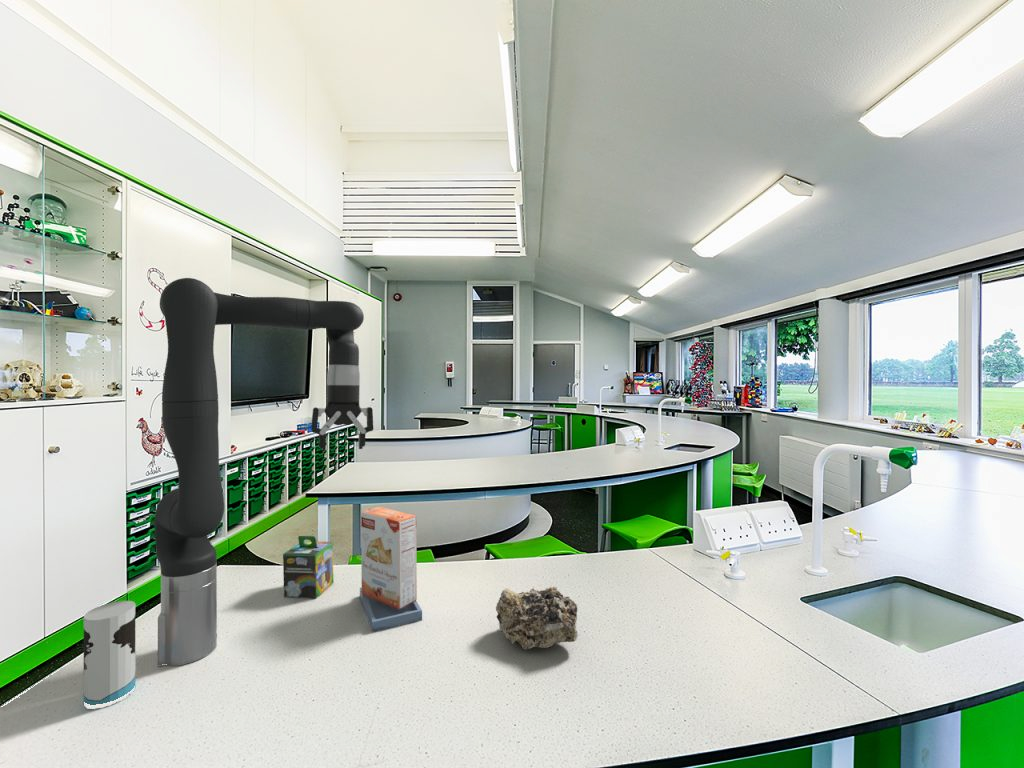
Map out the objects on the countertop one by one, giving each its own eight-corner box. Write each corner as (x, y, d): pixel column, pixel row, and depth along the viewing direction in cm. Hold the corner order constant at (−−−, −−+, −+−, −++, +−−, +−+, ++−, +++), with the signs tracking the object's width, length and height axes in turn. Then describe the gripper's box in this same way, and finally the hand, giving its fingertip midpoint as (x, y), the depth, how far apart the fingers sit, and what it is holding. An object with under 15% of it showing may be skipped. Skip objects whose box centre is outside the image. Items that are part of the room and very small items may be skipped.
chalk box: (334, 583, 122) (334, 529, 122) (316, 599, 113) (316, 541, 113) (302, 582, 123) (302, 528, 123) (281, 597, 114) (281, 539, 114)
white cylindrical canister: (144, 681, 82) (144, 599, 82) (115, 708, 75) (115, 619, 75) (104, 684, 81) (105, 601, 81) (72, 711, 74) (72, 621, 74)
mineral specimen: (576, 663, 87) (576, 612, 87) (488, 652, 91) (488, 603, 91) (580, 621, 102) (580, 578, 102) (504, 613, 106) (504, 571, 106)
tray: (372, 632, 98) (372, 622, 98) (359, 596, 115) (359, 587, 115) (422, 620, 103) (422, 610, 103) (403, 587, 120) (403, 579, 120)
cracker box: (359, 595, 111) (359, 510, 111) (379, 586, 116) (379, 505, 116) (398, 611, 103) (398, 520, 103) (417, 601, 108) (417, 514, 108)
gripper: (312, 383, 104) (311, 452, 104) (375, 384, 110) (374, 450, 110) (311, 383, 111) (310, 449, 110) (371, 384, 117) (370, 446, 117)
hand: (342, 449), depth 110 cm, fingers open, 8 cm apart
